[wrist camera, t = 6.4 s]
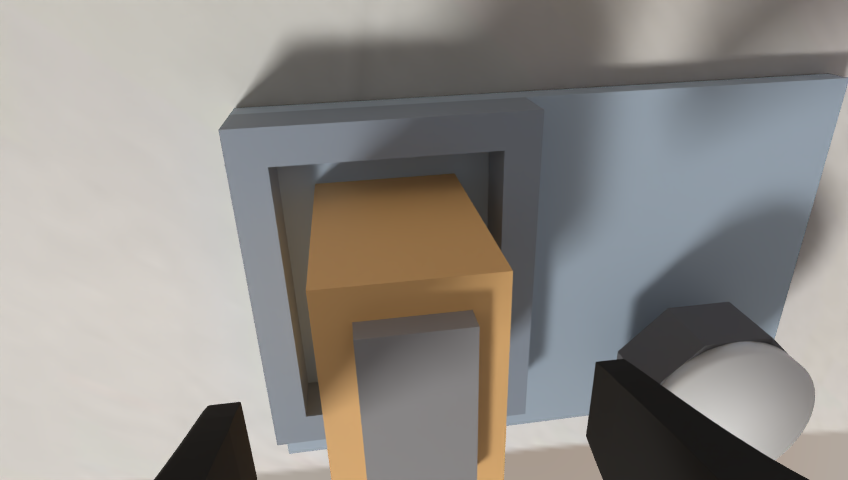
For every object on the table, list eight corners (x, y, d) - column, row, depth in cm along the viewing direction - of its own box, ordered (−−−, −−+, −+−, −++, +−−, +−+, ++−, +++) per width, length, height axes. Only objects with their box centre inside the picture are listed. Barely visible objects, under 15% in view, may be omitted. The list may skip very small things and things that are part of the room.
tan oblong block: (454, 173, 16) (521, 286, 11) (455, 343, 19) (510, 510, 13) (315, 183, 16) (304, 308, 10) (335, 356, 19) (336, 536, 13)
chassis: (828, 73, 18) (903, 89, 15) (745, 380, 23) (792, 426, 21) (234, 108, 16) (216, 132, 13) (290, 437, 21) (285, 495, 18)
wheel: (771, 297, 18) (835, 344, 16) (738, 416, 20) (791, 474, 18) (623, 312, 18) (667, 364, 15) (605, 434, 20) (642, 496, 17)
